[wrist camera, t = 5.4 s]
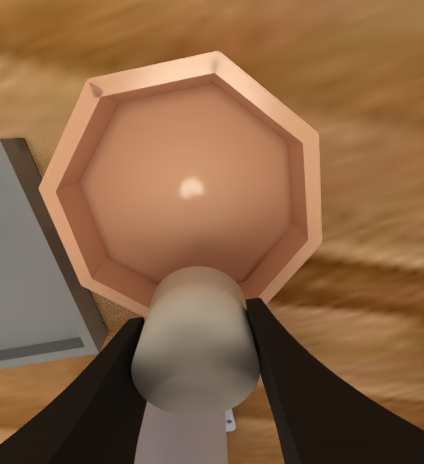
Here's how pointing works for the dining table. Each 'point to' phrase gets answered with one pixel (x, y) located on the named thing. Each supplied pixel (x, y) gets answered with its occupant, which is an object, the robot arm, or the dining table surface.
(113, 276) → the bowl
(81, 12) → the dining table surface
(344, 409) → the robot arm
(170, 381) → the white marshmallow
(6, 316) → the parts tray
